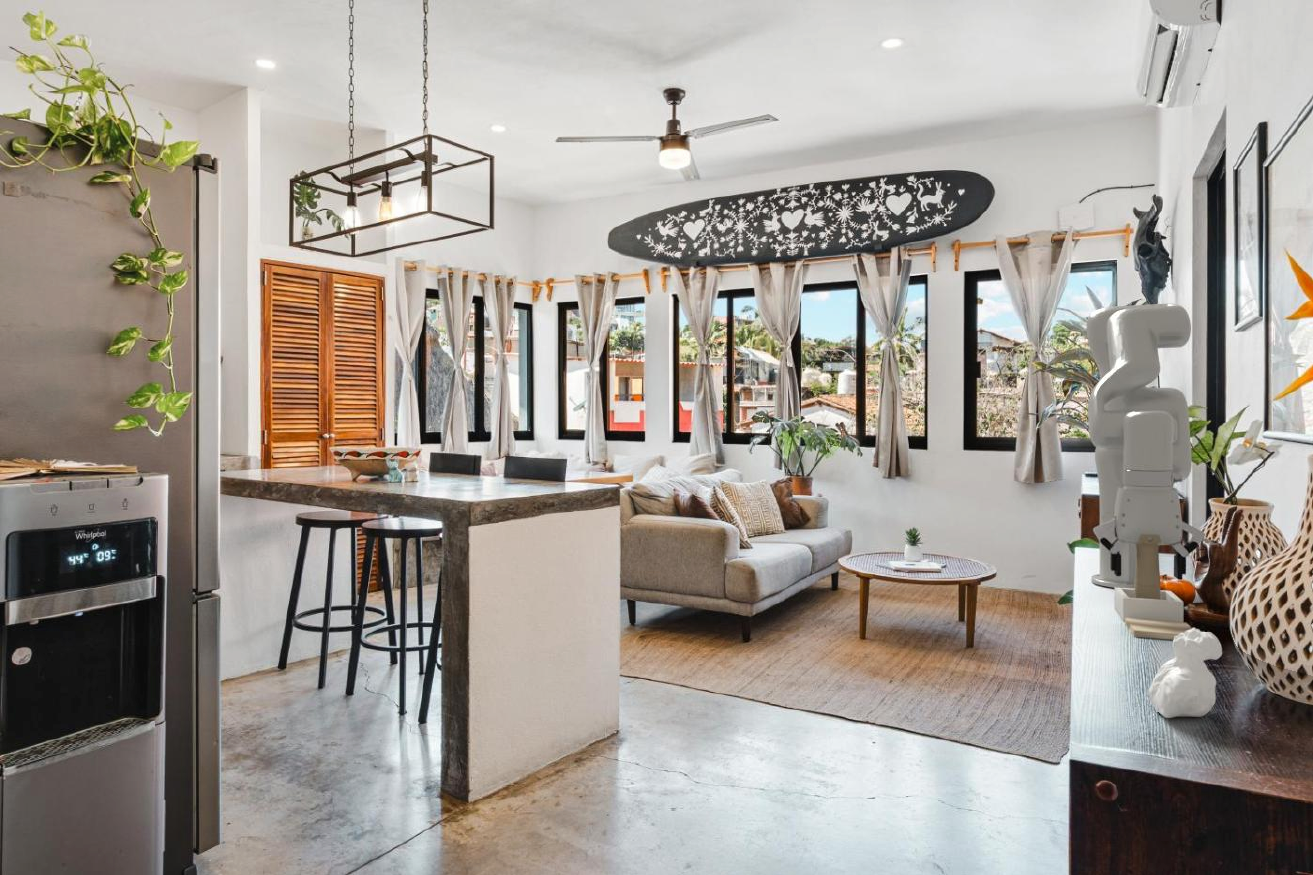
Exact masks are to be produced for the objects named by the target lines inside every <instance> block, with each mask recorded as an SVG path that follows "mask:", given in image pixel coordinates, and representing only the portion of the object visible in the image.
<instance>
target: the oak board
mask: <svg viewBox="0 0 1313 875" xmlns="http://www.w3.org/2000/svg"><path fill="white" fill-rule="evenodd" d="M1124 624H1125V626H1126V627H1127V628H1128V630H1129V631H1130V633H1131V634H1132V635H1133V637H1134V638H1144V639H1145V638H1147V639H1149V638H1150V639H1160V640H1172V641H1173V640H1174V636H1177V635H1179V634H1180V633H1185V631H1187V630H1190V629H1192V628H1193V627H1191V626H1190V625H1189V624H1188V623H1187V622H1184V621H1183V622H1174V621H1160V620H1146V619H1132V618H1125V621H1124Z"/></svg>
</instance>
